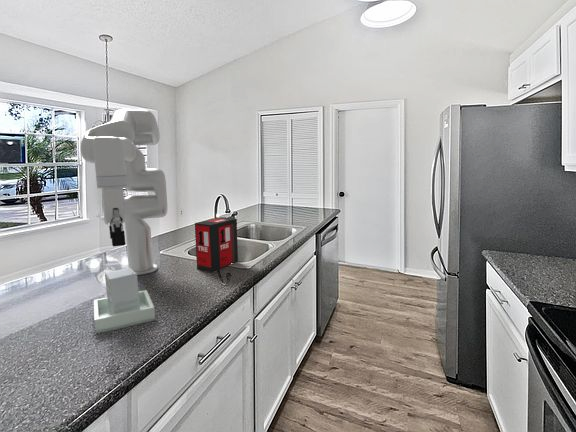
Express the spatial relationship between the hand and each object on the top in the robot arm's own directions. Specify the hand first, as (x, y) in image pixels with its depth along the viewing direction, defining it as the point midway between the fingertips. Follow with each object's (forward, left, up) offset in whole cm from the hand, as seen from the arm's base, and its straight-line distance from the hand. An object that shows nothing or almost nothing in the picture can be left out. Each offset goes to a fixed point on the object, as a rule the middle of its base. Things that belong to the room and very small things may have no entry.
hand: (117, 241), depth 96 cm
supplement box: (0, 0, -22) cm, 22 cm away
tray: (0, 0, -23) cm, 23 cm away
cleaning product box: (-32, +40, -23) cm, 56 cm away
